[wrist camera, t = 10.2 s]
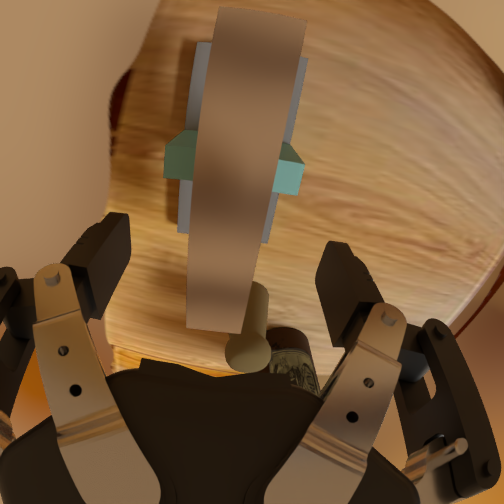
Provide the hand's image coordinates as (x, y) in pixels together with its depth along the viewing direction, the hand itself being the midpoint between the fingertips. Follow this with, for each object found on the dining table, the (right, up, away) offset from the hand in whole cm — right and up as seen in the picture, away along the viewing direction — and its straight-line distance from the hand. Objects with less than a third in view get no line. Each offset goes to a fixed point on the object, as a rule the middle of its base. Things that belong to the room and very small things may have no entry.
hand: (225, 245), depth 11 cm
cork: (0, -6, +27) cm, 28 cm away
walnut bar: (0, +6, +8) cm, 10 cm away
